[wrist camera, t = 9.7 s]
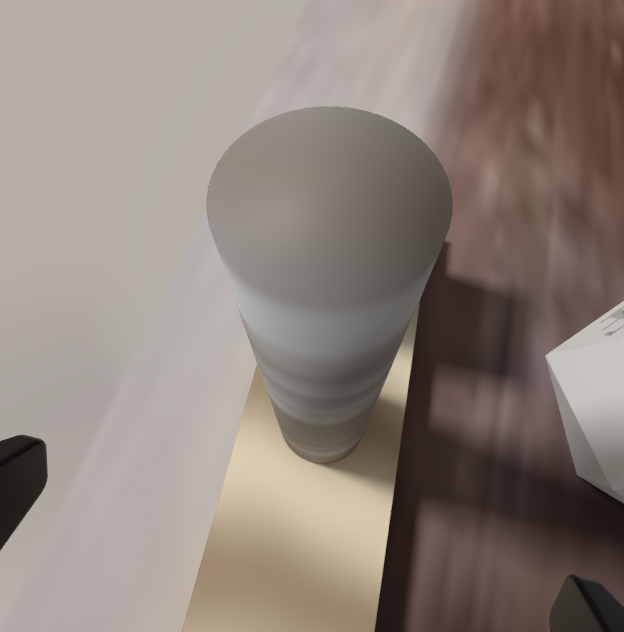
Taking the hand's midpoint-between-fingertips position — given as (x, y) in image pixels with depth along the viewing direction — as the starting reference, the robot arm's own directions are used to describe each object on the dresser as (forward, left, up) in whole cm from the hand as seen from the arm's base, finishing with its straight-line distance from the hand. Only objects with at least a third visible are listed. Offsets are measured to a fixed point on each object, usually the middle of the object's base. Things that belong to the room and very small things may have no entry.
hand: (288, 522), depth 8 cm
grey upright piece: (+4, 0, -10) cm, 11 cm away
